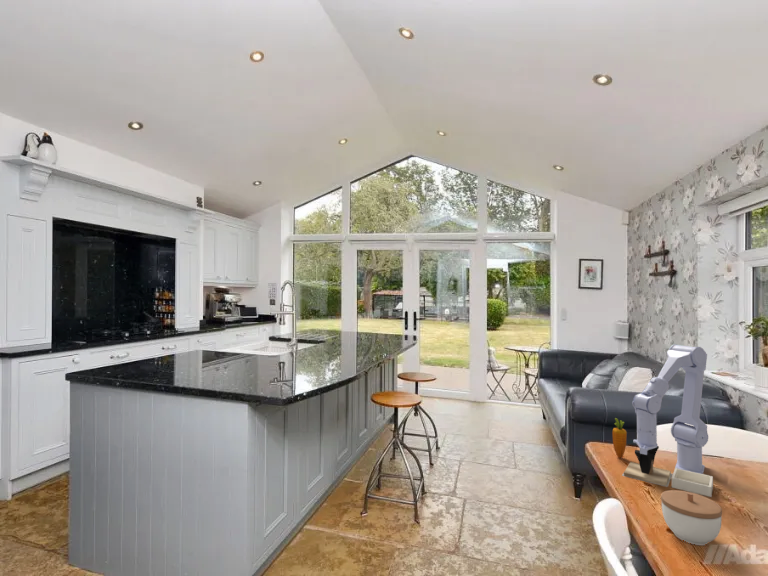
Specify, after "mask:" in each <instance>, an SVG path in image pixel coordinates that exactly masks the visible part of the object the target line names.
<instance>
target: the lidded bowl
mask: <svg viewBox="0 0 768 576" xmlns="http://www.w3.org/2000/svg"><path fill="white" fill-rule="evenodd" d="M660 500H661V501H660V502H661V511H662V516H663V519H664V521H665V523H666V525H667V527H668V528H669V529H670V530H671V531H672V532H673V534H674V536H675V537H676V538H678V539H679V540H681V541H683V540H684V541H683V542H685V541H686V542H685V543H687V542H688V544H690V543H691V545H694V544H695V546H706V545H705V544H707V543H708V542H709V543H711V542H713V541H715V539H716V538H717V537H718V536H719V534H720V531H721V528H722V520H723V519H722V515H723V509H722V507H721V506H720V504H718V503H717V502H716V501H714V500H713V499H711V498H710V497H708V496H704V495H700V494H696V493H692V492H688V491H684V490H680V489H677V490H675V489H671V490H665V491H662V493H660ZM709 543H708V544H709ZM708 544H707V545H708Z"/></svg>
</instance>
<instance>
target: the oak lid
mask: <svg viewBox="0 0 768 576" xmlns="http://www.w3.org/2000/svg"><path fill="white" fill-rule="evenodd" d="M671 472H672V471H671V470H669V469H668V470H667V469H663V468H659V467H654V464H653V460H652V462H651V468H650V472H649V474H646V473H642V472H641V468H640V464H639V462H638V463H637V462H635V461H630V462H629V463H628V465H627V467H626V468H625V470H624V471H623V473H624V476H623V477H625V476H628V477H627V478H629V477H632V478H631V479H633V478H636V479H635V480H637V479H640V480H639V481H641V480H644V481H643V482H645V481H648V482H647V483H649V482H652V483H651V484H654V483H656V484H655V485H658V484H660V485H659V486H662V485H665V486H664V487H666V485H667V482H668V480H669V477H670V474H672V473H671Z"/></svg>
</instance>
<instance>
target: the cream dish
mask: <svg viewBox="0 0 768 576" xmlns="http://www.w3.org/2000/svg"><path fill="white" fill-rule="evenodd" d="M671 488H672V489H677V490H680V491H686V492H691V493H695V494H698V495H701V496H704V497H707V498H712V496H713V495H712V494H713V490H714V489H713V488H714V476H712V475H709V474H705V473H703V474H700V473H695V472H691V471H686V470H682V469H677V468H675V467H674V470H673V473H672V477H671Z"/></svg>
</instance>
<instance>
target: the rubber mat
mask: <svg viewBox="0 0 768 576" xmlns="http://www.w3.org/2000/svg"><path fill="white" fill-rule="evenodd" d="M672 475H673V473H671V474H670V477H669V480H668V482H667V485H666V486H665V485H660V484H656V483H652V482H648V481H644V480H640V479H636V478H632V477H628V476H624V472H623V473H622V475H621V476H623V477H625V478H629V479H630V478H631V479H635V480H637V481H641V482H642V481H643V482H646V483H651V484H654V485H659V486H661V487H665V488H668V487H669V485H670V482H671V481H672Z"/></svg>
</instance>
